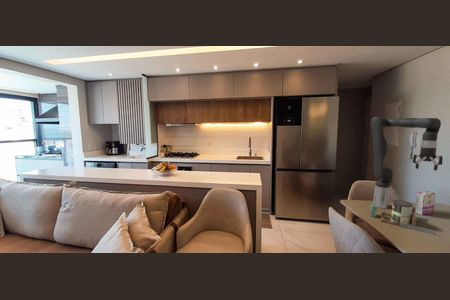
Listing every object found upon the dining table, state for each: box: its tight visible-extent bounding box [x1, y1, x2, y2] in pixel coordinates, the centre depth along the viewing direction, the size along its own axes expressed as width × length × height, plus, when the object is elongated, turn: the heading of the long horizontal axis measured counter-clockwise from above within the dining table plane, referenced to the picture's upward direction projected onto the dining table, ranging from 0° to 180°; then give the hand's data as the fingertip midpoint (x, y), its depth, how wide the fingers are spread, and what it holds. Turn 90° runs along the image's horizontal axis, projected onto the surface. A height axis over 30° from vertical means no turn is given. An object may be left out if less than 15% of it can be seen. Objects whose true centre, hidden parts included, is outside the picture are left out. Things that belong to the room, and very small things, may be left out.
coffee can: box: [390, 199, 414, 225], centre depth 132 cm, size 10×10×14 cm
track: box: [399, 216, 436, 235], centre depth 129 cm, size 16×18×2 cm
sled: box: [370, 203, 417, 226], centre depth 136 cm, size 23×15×8 cm, turn 54°
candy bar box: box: [414, 190, 436, 216], centre depth 144 cm, size 11×5×16 cm, turn 101°
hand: (425, 169), depth 133 cm, fingers open, 8 cm apart
